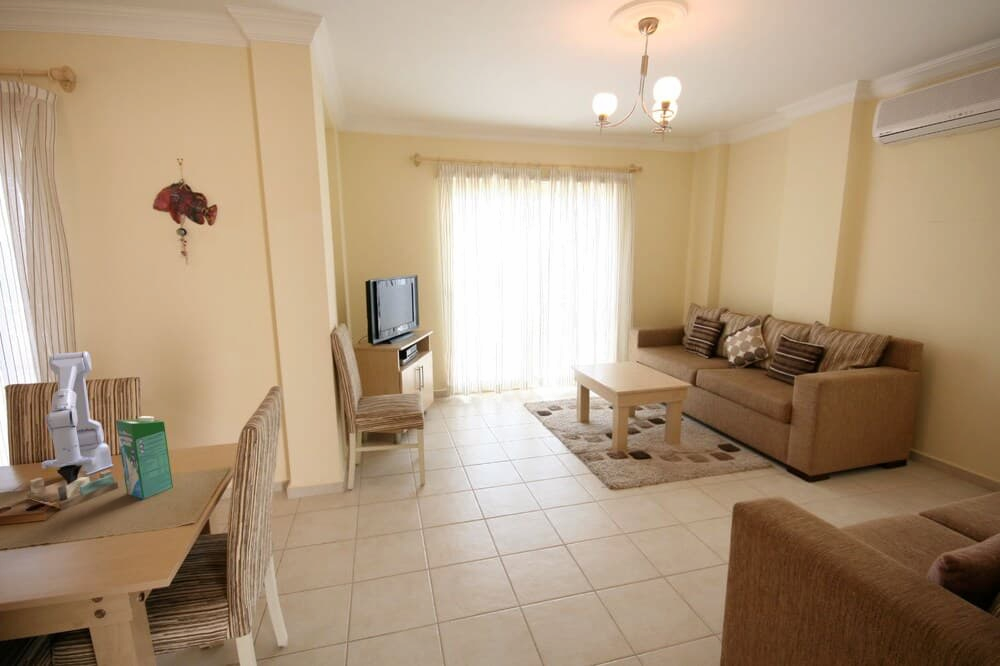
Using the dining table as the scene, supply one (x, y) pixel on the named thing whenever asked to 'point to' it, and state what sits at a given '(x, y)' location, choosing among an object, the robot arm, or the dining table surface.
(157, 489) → the milk carton
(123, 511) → the dining table surface
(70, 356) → the robot arm
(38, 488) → the stool seat
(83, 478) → the stool leg
